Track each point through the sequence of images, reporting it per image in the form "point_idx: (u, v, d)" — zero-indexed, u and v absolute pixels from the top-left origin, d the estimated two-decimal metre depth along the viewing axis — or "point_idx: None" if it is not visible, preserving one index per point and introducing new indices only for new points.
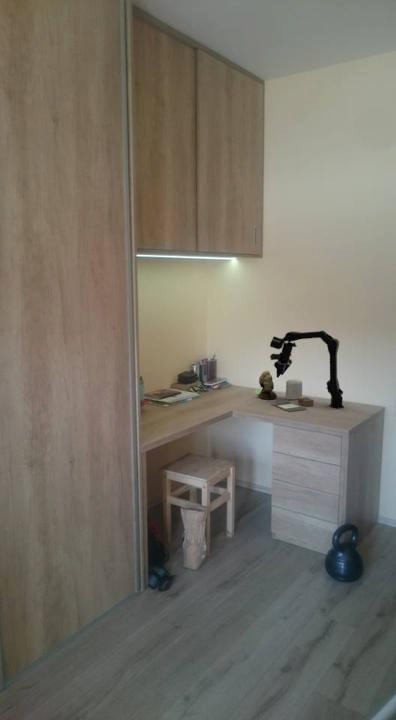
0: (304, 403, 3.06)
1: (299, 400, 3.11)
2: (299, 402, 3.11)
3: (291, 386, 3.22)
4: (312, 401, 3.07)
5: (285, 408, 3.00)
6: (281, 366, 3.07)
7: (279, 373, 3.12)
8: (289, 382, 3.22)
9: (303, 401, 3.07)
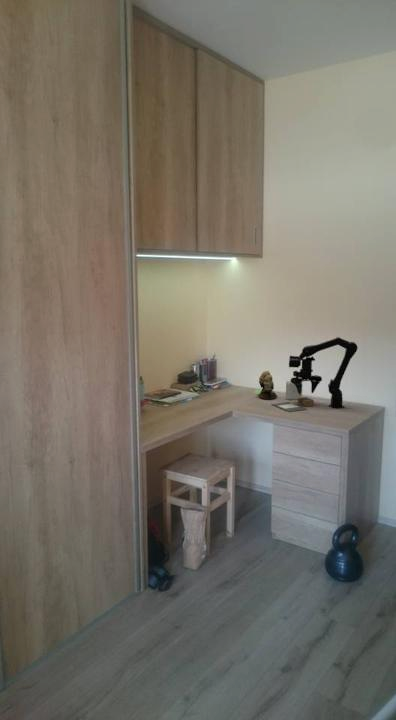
0: (304, 403, 3.06)
1: (299, 400, 3.10)
2: (299, 402, 3.11)
3: (291, 386, 3.22)
4: (312, 401, 3.07)
5: (285, 408, 3.00)
6: (294, 381, 3.02)
7: (299, 390, 3.05)
8: (289, 382, 3.22)
9: (303, 401, 3.07)
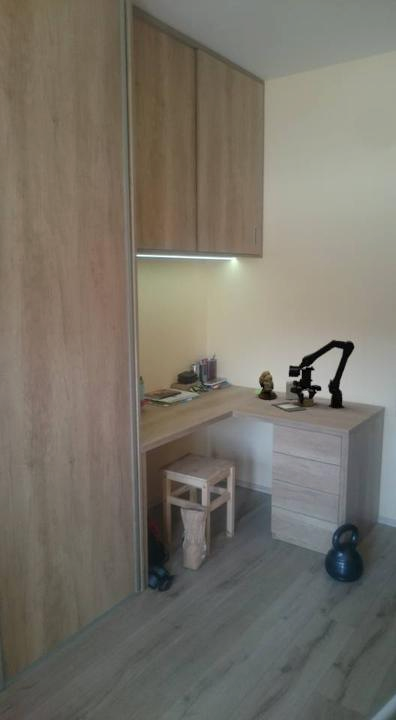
0: (304, 403, 3.06)
1: (299, 400, 3.10)
2: (299, 402, 3.11)
3: (291, 386, 3.22)
4: (312, 401, 3.07)
5: (285, 408, 3.00)
6: (294, 391, 3.03)
7: (300, 399, 3.07)
8: (289, 382, 3.22)
9: (303, 401, 3.07)
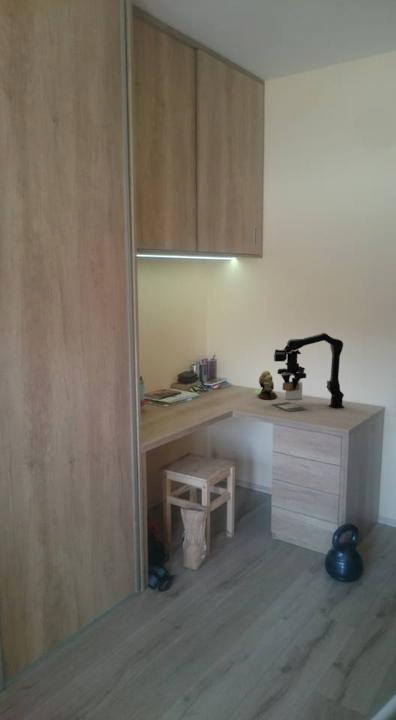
0: None
1: None
2: None
3: None
4: (288, 385, 3.00)
5: (285, 408, 3.00)
6: None
7: None
8: None
9: None
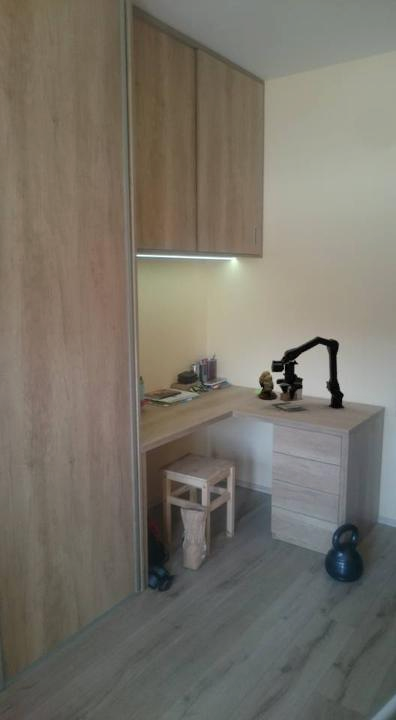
0: None
1: None
2: None
3: None
4: (284, 396, 3.00)
5: (285, 408, 3.00)
6: None
7: None
8: None
9: None
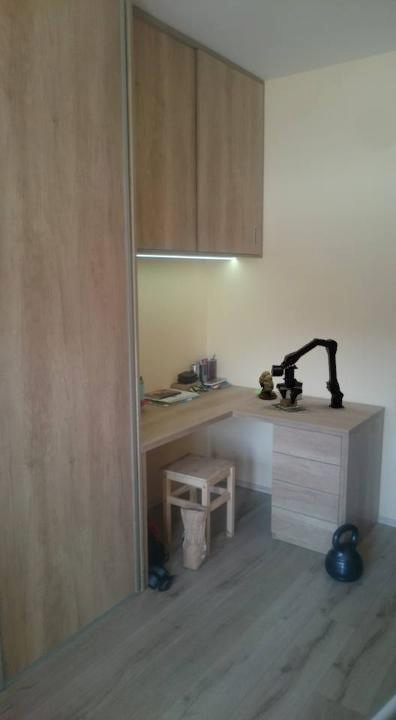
0: None
1: None
2: None
3: None
4: (284, 402, 3.01)
5: (285, 408, 3.00)
6: None
7: None
8: None
9: None
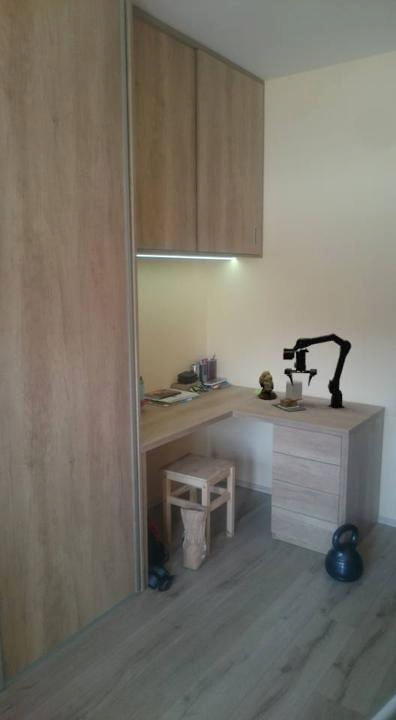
0: None
1: None
2: None
3: (291, 386, 3.22)
4: (284, 402, 3.01)
5: (285, 408, 3.00)
6: (284, 372, 3.08)
7: (290, 380, 3.08)
8: (289, 382, 3.22)
9: None
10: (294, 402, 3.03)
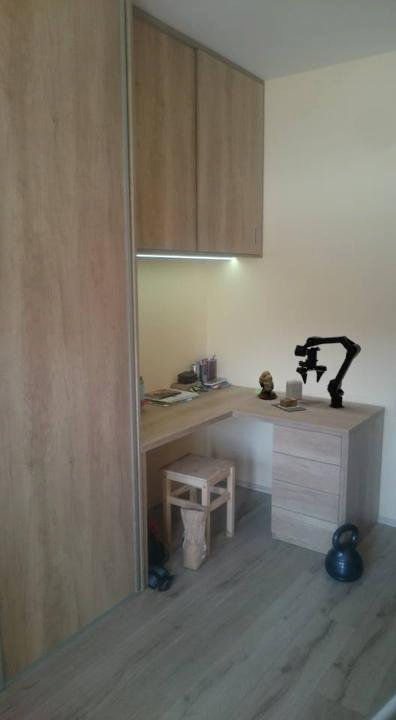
0: None
1: None
2: None
3: (291, 386, 3.22)
4: (284, 402, 3.01)
5: (285, 408, 3.00)
6: (300, 371, 3.07)
7: (304, 379, 3.10)
8: (289, 382, 3.22)
9: None
10: (294, 402, 3.03)
